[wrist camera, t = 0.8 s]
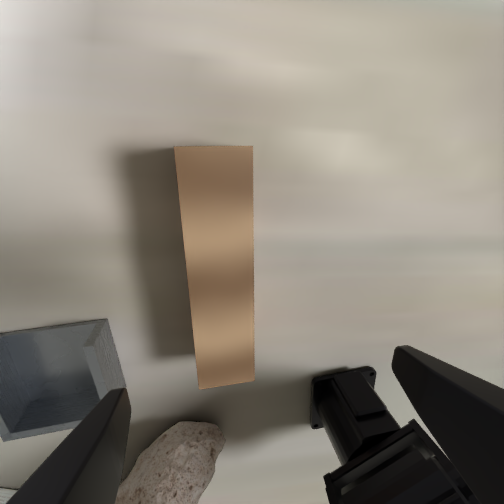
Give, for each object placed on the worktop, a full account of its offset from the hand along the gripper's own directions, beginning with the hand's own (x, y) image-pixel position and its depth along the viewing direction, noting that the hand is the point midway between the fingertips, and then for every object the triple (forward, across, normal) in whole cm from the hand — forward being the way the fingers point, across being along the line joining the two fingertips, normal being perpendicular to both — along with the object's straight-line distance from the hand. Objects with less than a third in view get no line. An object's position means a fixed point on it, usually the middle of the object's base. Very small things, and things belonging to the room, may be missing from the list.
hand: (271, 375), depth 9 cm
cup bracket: (+12, +13, +8) cm, 19 cm away
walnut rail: (+12, +1, +1) cm, 12 cm away
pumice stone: (+12, +7, +21) cm, 26 cm away
